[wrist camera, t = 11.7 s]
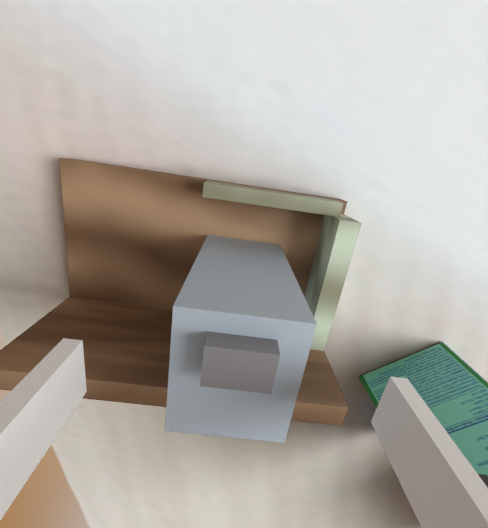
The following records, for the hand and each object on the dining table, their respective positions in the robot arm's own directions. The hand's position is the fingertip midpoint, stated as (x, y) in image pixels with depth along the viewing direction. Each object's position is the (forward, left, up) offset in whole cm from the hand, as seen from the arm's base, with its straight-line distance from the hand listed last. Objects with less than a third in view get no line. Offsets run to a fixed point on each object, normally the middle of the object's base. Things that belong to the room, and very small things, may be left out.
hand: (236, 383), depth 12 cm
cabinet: (0, 0, -13) cm, 13 cm away
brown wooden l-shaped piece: (-1, -4, -14) cm, 14 cm away
